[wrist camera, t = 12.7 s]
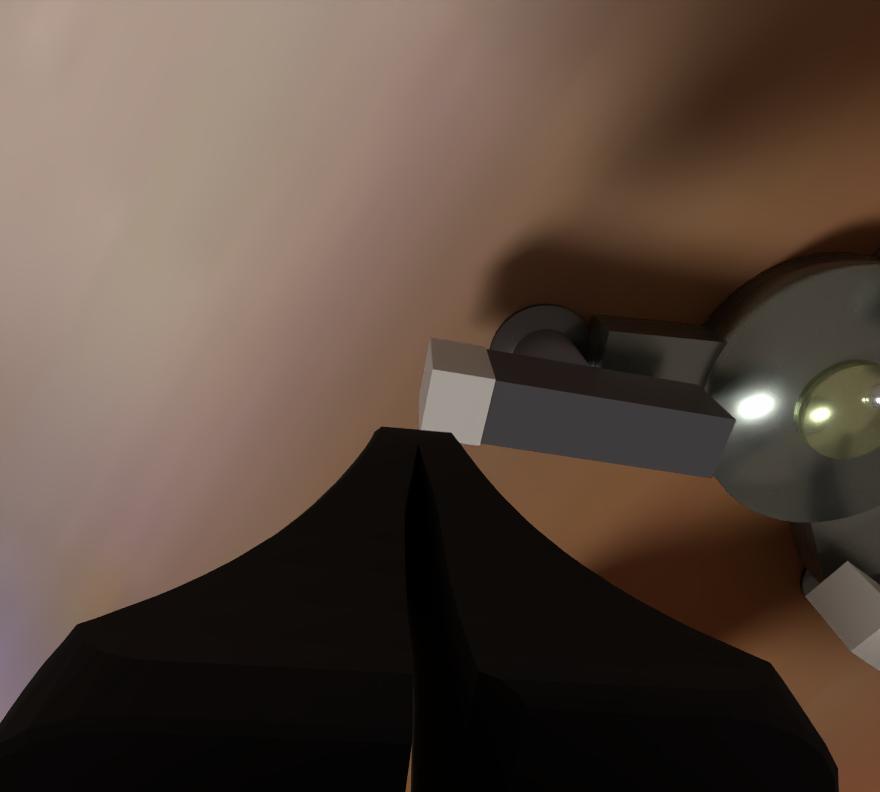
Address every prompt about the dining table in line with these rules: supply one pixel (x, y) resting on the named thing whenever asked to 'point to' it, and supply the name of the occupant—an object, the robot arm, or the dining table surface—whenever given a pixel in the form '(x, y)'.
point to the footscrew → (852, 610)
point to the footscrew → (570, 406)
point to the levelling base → (773, 394)
